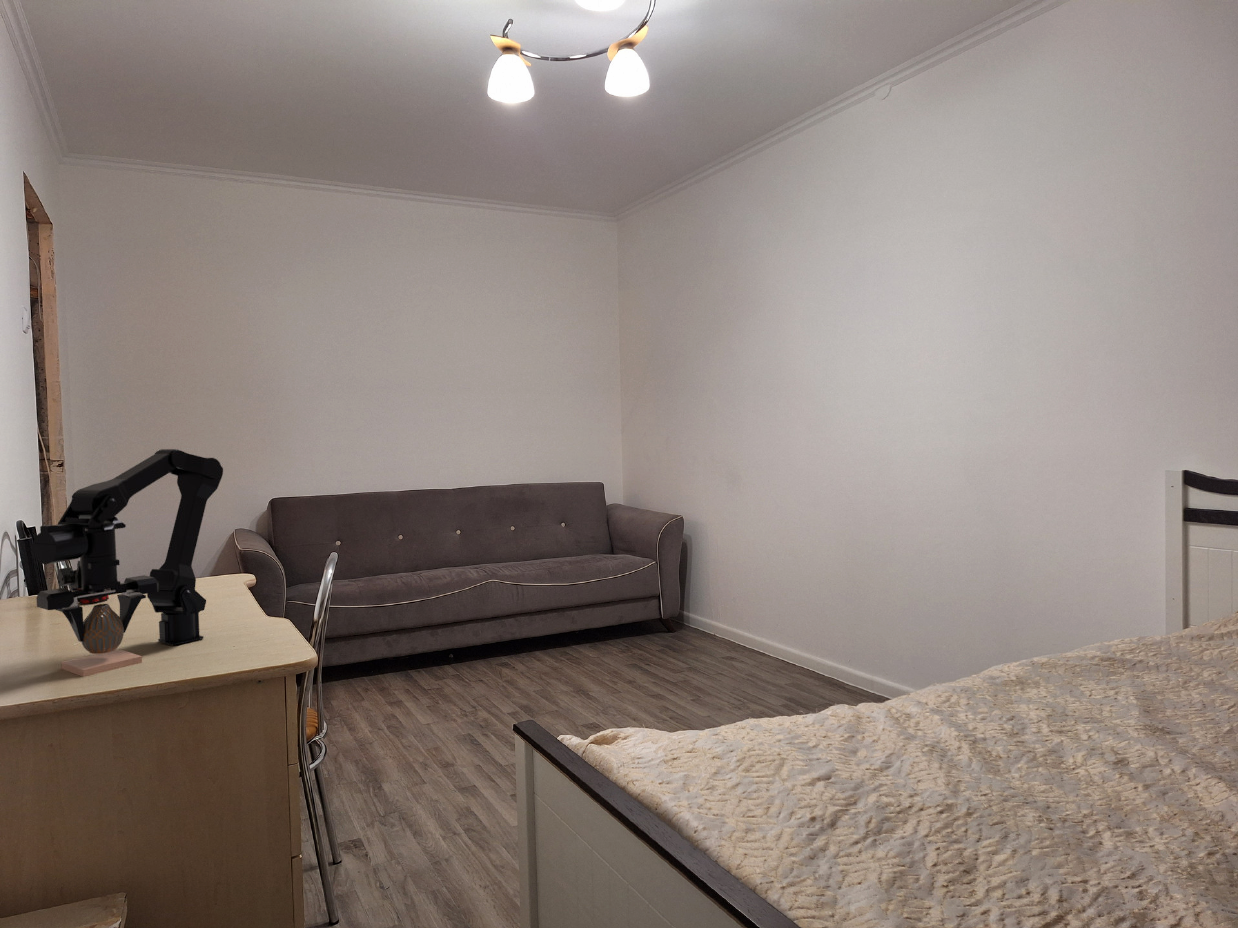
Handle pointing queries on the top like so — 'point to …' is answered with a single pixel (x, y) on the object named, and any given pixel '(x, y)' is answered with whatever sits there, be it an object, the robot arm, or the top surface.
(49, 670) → the top surface
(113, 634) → the vase
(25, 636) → the top surface
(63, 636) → the top surface
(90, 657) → the tile
